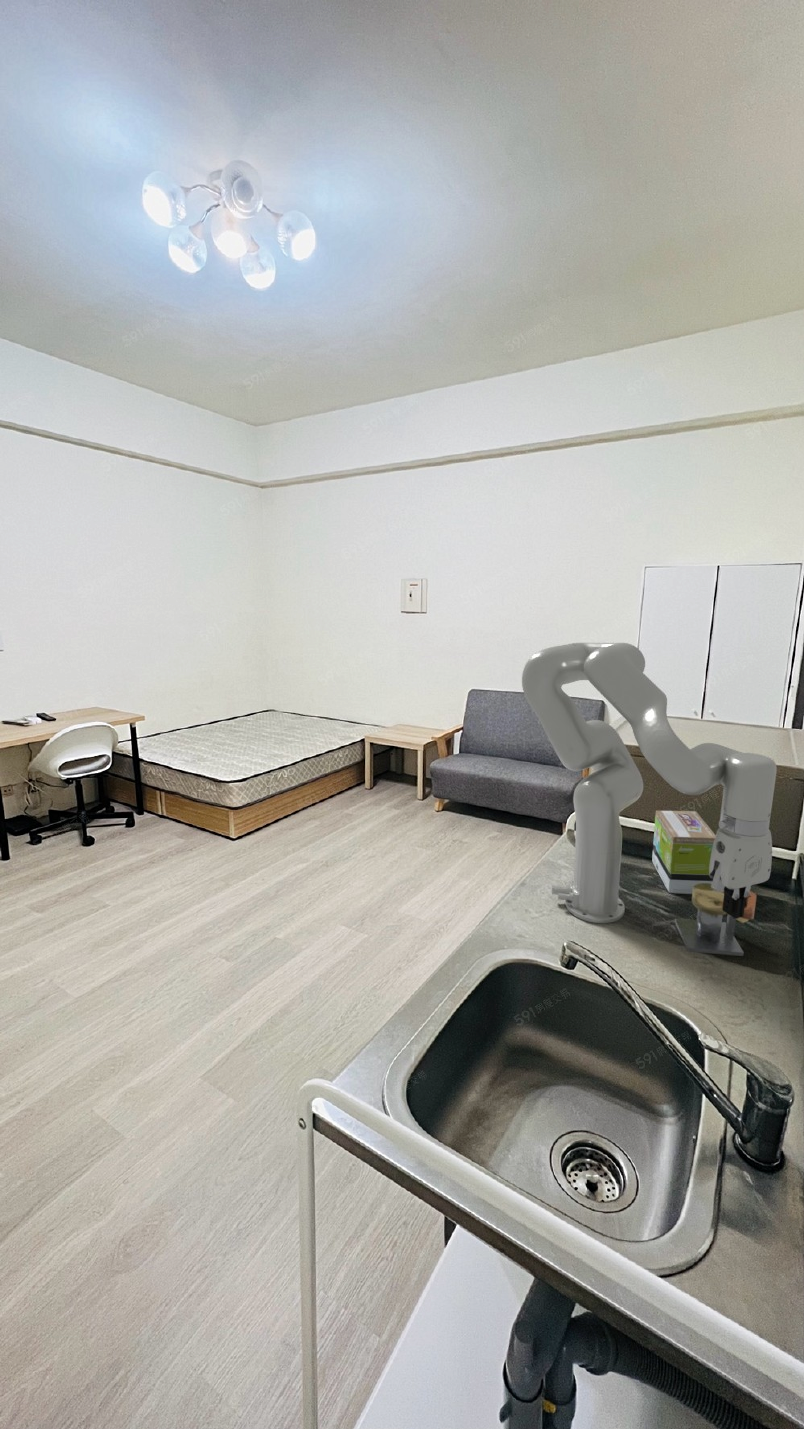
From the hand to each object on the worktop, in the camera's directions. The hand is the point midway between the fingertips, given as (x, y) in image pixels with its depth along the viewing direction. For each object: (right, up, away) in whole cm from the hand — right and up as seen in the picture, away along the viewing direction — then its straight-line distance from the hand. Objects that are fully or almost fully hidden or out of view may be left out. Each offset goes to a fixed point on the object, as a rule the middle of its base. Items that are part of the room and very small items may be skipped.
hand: (732, 913), depth 108 cm
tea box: (+6, -3, +33) cm, 34 cm away
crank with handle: (+2, -2, +6) cm, 7 cm away
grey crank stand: (+1, -8, +10) cm, 13 cm away
